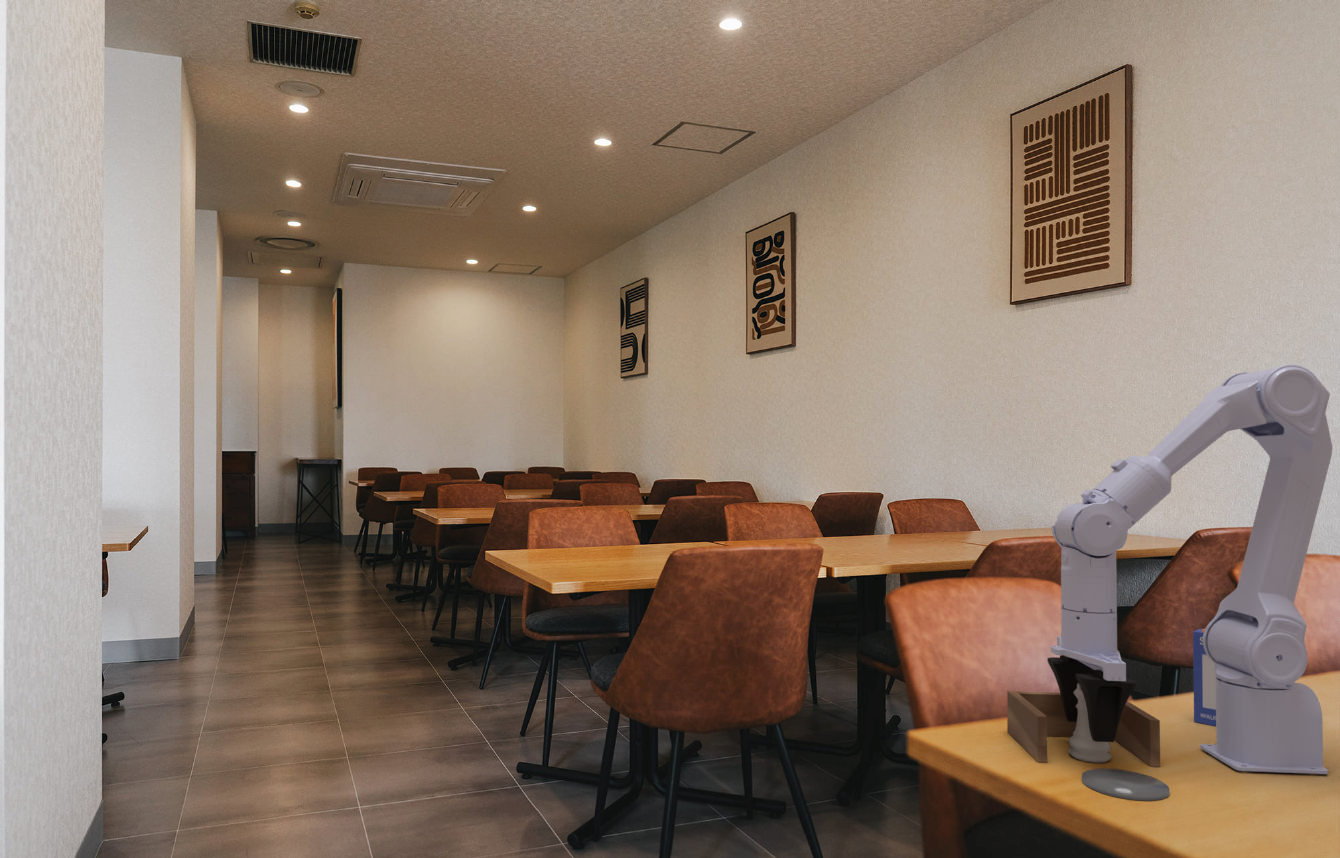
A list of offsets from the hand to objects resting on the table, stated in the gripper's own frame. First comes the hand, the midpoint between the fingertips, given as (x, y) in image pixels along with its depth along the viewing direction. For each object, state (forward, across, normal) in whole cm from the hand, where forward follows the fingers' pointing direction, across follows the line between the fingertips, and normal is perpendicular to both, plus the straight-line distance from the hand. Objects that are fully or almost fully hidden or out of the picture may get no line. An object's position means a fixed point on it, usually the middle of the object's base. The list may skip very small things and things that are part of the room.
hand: (1089, 730), depth 99 cm
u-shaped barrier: (+3, -3, 0) cm, 4 cm away
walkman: (+3, -14, +23) cm, 27 cm away
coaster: (+3, +9, 0) cm, 9 cm away
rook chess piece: (+3, 0, 0) cm, 3 cm away
